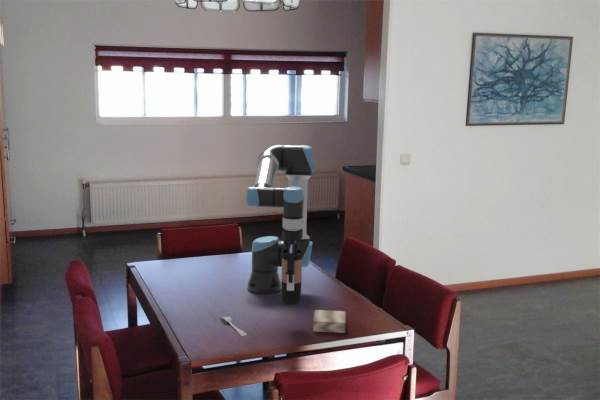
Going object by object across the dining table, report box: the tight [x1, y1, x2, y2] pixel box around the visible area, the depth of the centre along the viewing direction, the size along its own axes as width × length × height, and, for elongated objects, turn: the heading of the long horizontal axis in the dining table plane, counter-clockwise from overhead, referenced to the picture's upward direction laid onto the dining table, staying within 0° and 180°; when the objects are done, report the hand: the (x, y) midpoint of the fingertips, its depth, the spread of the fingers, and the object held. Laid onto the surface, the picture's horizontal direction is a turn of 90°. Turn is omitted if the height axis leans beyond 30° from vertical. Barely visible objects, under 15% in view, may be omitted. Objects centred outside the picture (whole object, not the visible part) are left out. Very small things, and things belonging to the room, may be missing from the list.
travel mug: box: [280, 249, 303, 306], centre depth 241 cm, size 8×8×20 cm
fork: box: [222, 316, 248, 337], centre depth 240 cm, size 3×21×3 cm, turn 32°
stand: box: [312, 309, 347, 334], centre depth 242 cm, size 12×12×4 cm
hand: (291, 286), depth 241 cm, fingers closed on travel mug, 8 cm apart
